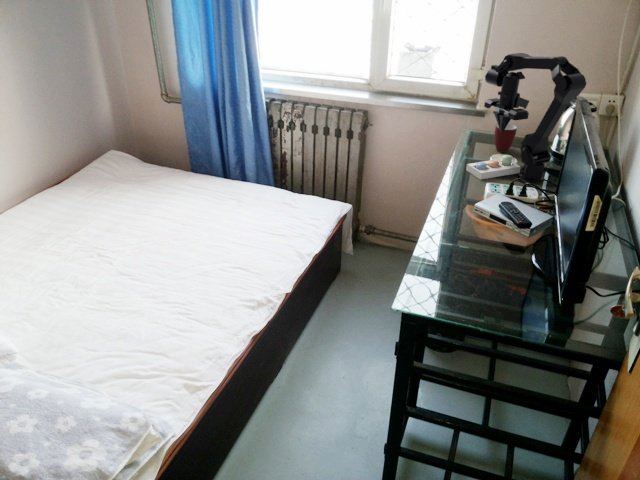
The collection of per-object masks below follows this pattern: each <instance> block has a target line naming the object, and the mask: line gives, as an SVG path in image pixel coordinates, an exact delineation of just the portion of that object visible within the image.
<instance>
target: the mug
mask: <svg viewBox="0 0 640 480" xmlns="http://www.w3.org/2000/svg"><path fill="white" fill-rule="evenodd" d="M517 128H518V127H517V126H516V125H514V124H511V123H508V125H507V127H506V128H505V130H504V131H503V132H501V131H500V129H499V126H498V123H496V125H495V128H494V147H495V149H496V151H497V152H500V153H505V152H506V153H507V152H508V151H509V149H510V148H511V147H512V144H513V142H514V140H515V137H516V134H517V130H518V129H517Z"/></svg>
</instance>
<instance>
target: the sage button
mask: <svg viewBox="0 0 640 480" xmlns="http://www.w3.org/2000/svg"><path fill="white" fill-rule="evenodd" d="M501 159H502V161H501V162H502V165H504V166H510V165H511V163H512V162H513V156H512V155H510V154H502V156H501Z"/></svg>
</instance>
